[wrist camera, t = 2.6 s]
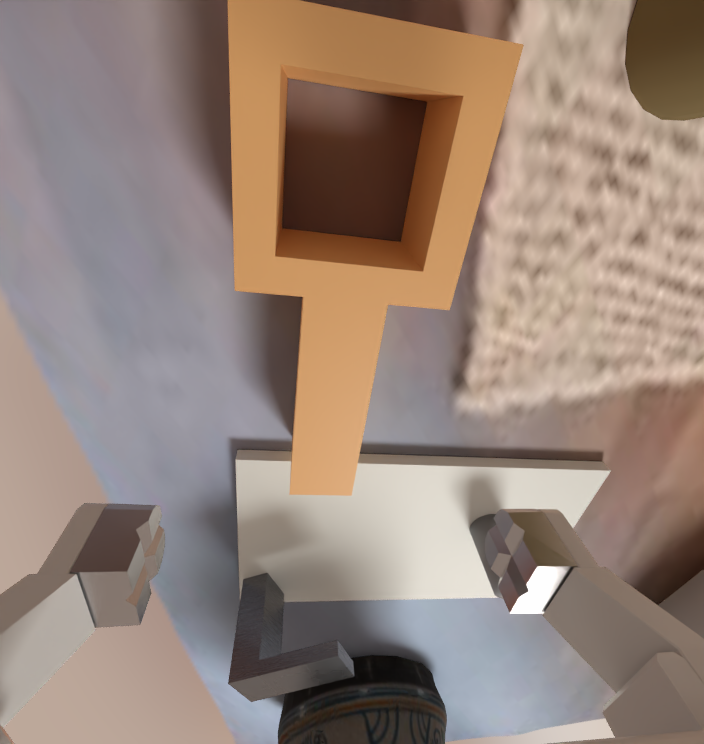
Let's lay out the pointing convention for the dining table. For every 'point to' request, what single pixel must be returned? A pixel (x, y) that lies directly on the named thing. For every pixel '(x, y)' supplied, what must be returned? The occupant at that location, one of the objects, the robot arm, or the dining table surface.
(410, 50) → the link
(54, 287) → the dining table surface
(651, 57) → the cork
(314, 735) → the beer stein
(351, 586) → the board
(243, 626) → the bracket
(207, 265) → the dining table surface
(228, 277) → the dining table surface
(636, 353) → the dining table surface
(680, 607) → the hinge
